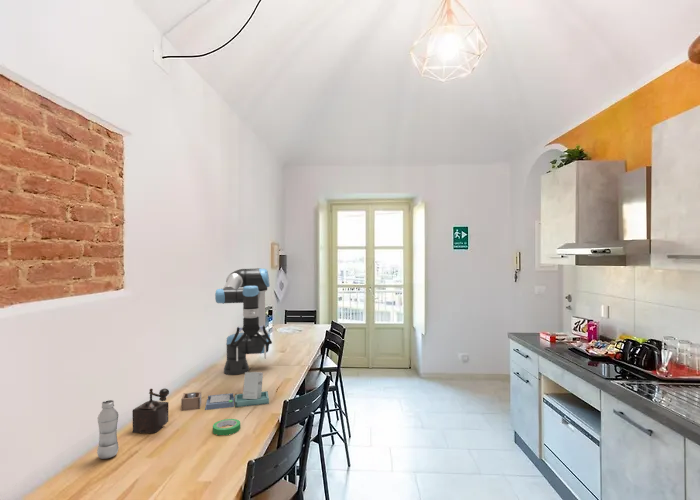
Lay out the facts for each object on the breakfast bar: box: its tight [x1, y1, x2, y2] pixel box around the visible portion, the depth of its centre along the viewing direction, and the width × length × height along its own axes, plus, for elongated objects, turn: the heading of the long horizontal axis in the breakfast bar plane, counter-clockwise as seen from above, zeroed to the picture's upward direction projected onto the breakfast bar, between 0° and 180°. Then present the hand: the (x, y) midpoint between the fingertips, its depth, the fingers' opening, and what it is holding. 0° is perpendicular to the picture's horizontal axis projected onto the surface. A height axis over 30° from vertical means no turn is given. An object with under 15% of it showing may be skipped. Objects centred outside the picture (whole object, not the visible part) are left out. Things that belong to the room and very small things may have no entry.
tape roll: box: [212, 418, 241, 436], centre depth 165 cm, size 11×11×3 cm
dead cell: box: [187, 392, 196, 398], centre depth 189 cm, size 4×4×6 cm
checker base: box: [204, 392, 235, 411], centre depth 192 cm, size 13×13×4 cm
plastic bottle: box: [96, 399, 119, 460], centre depth 144 cm, size 6×7×20 cm
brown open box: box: [180, 391, 202, 411], centre depth 189 cm, size 8×8×6 cm
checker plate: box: [210, 393, 230, 404], centre depth 192 cm, size 9×9×1 cm
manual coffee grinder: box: [131, 388, 170, 434], centre depth 167 cm, size 16×11×18 cm
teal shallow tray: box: [234, 390, 270, 409], centre depth 196 cm, size 11×16×2 cm
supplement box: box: [242, 371, 264, 399], centre depth 197 cm, size 7×7×13 cm
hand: (251, 359), depth 197 cm, fingers open, 13 cm apart
